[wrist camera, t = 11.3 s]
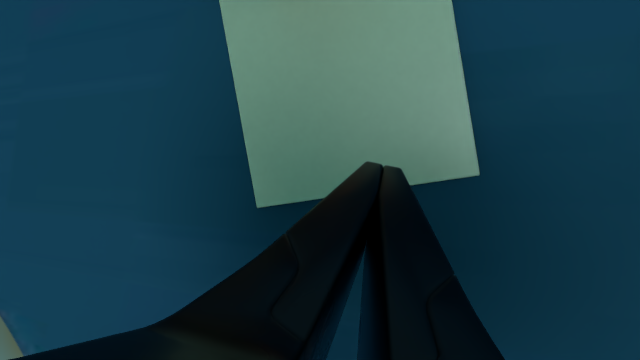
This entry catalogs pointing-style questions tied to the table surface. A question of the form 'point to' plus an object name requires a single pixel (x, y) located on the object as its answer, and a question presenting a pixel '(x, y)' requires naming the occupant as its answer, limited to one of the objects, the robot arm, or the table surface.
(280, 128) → the board
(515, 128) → the table surface
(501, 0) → the table surface
